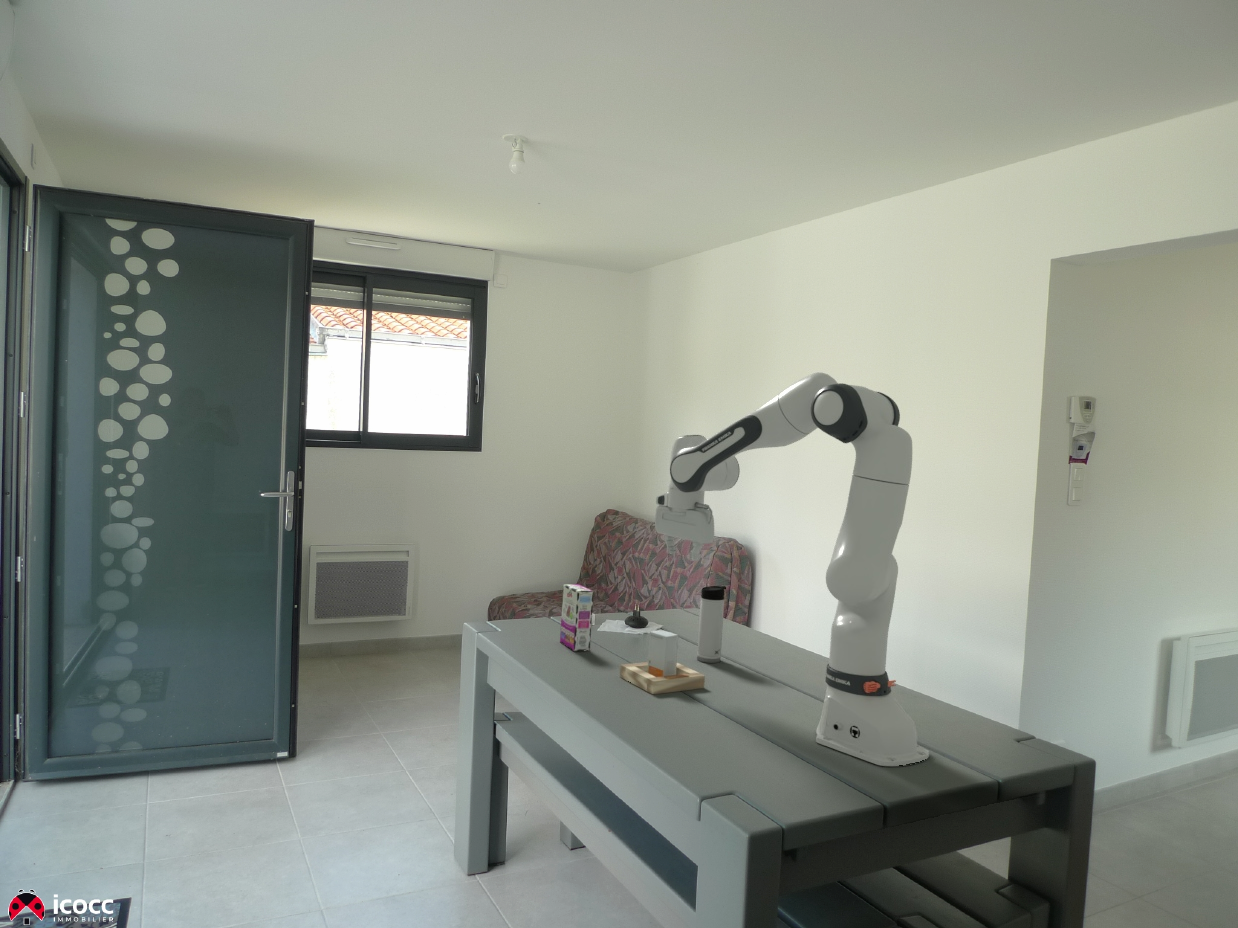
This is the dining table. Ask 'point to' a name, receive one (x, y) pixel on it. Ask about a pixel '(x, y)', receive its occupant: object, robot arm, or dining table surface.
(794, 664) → the dining table surface
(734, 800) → the dining table surface
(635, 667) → the frame
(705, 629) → the travel mug
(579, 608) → the candy bar box
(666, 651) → the skincare box
